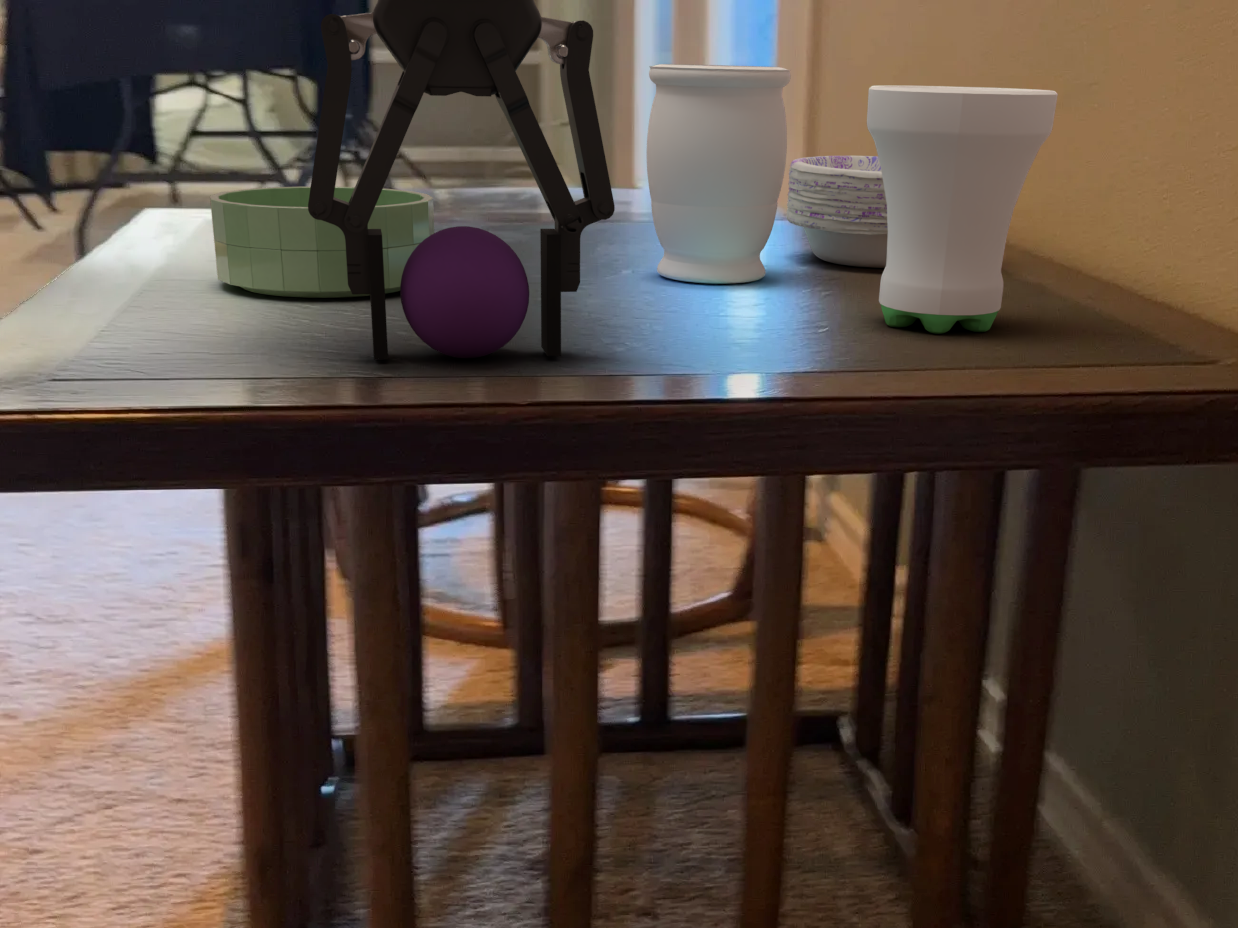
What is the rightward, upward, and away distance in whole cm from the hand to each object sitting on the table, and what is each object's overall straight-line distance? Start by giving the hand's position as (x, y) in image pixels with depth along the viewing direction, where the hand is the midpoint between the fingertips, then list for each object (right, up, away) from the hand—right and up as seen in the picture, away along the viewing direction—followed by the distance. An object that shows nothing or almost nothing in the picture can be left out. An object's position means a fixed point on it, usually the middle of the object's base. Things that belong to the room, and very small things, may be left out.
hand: (466, 352), depth 77 cm
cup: (+29, +4, +13) cm, 32 cm away
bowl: (-13, +10, +23) cm, 28 cm away
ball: (0, 0, 0) cm, 0 cm away
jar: (+15, +12, +30) cm, 35 cm away
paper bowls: (+30, +16, +40) cm, 52 cm away
